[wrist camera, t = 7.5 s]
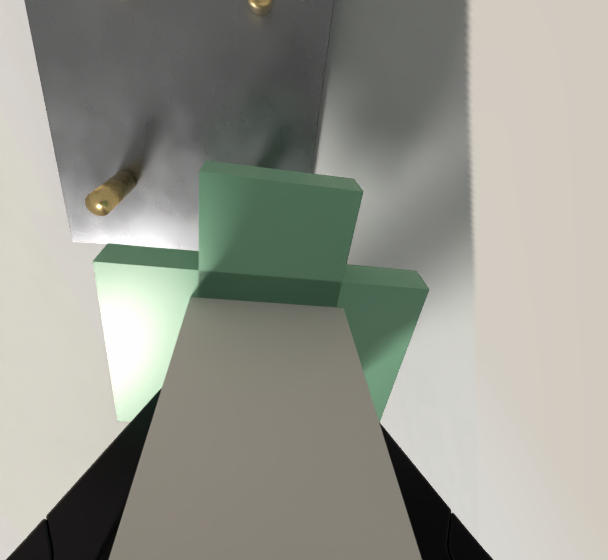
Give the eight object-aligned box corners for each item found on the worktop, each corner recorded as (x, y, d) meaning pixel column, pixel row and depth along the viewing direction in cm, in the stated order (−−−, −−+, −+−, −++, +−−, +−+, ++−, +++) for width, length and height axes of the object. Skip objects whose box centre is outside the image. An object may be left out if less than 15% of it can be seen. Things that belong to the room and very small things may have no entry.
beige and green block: (356, 445, 15) (434, 778, 8) (133, 442, 14) (-1, 835, 7) (444, 190, 10) (883, 521, 3) (95, 146, 8) (-669, 555, 2)
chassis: (298, 253, 22) (305, 290, 18) (77, 237, 20) (37, 274, 16) (344, -97, 14) (371, -149, 11) (0, -171, 13) (-103, -261, 9)
